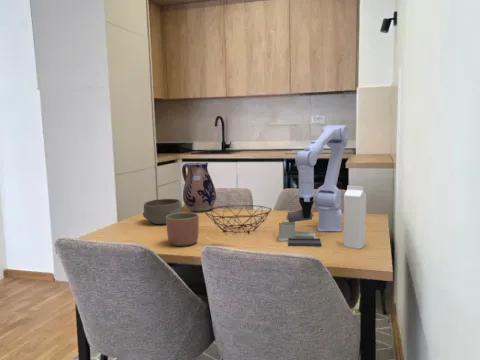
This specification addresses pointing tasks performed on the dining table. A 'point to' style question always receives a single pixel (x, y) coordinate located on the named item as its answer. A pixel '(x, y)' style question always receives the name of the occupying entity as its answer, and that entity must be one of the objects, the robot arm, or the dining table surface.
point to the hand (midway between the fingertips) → (306, 216)
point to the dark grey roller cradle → (304, 242)
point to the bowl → (161, 209)
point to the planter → (182, 228)
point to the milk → (354, 217)
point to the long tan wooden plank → (280, 221)
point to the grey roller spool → (297, 216)
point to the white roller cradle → (292, 232)
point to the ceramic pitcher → (198, 187)
